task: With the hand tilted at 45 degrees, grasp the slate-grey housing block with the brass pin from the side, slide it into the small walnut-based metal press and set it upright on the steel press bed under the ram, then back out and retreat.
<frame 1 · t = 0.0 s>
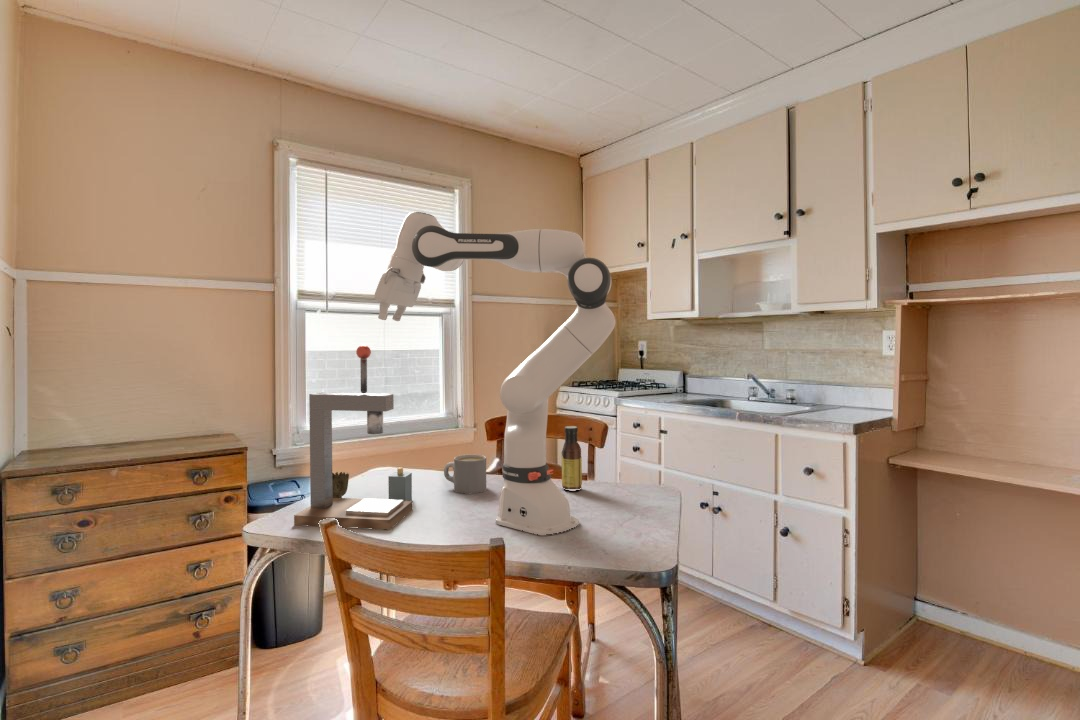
hand: (389, 320, 150), 52 cm above the table, tool tilted 20°, fingers open, 8 cm apart
housing: (400, 501, 160), on the table
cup: (335, 502, 160), on the table
coffee mug: (465, 489, 175), on the table
press base: (375, 518, 146), on the table
sauce bottle: (571, 490, 174), on the table
press frame: (354, 426, 145), on the press base, point 24 cm above the table
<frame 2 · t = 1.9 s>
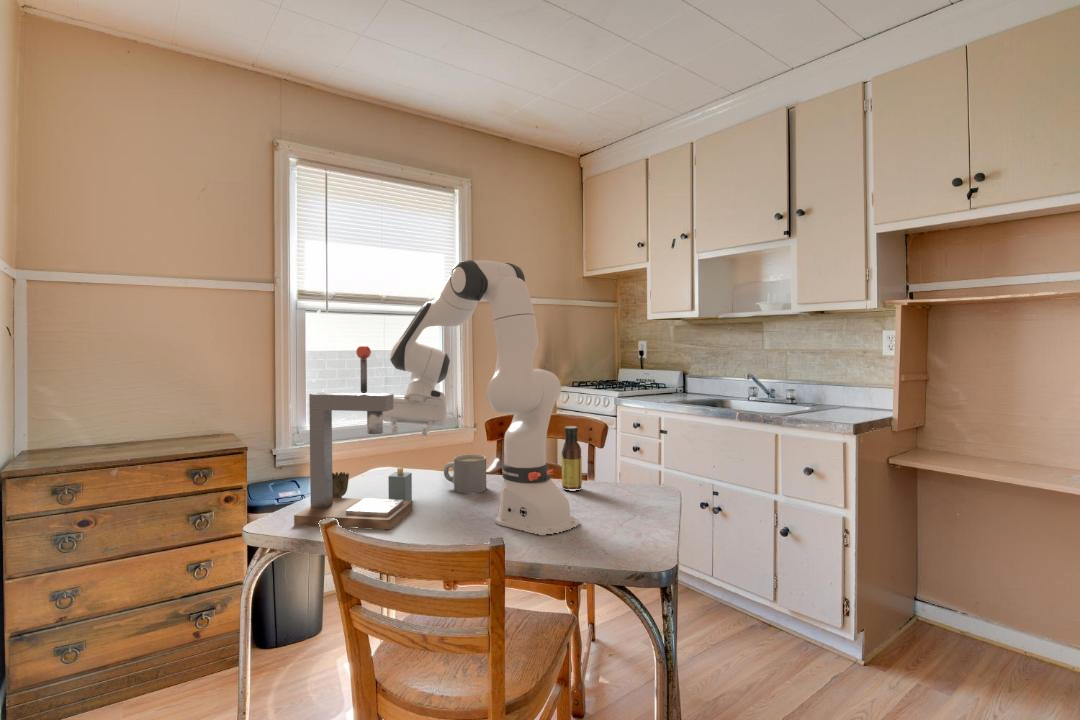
hand: (409, 433, 171), 18 cm above the table, tool tilted 40°, fingers open, 8 cm apart
nothing on the table moved.
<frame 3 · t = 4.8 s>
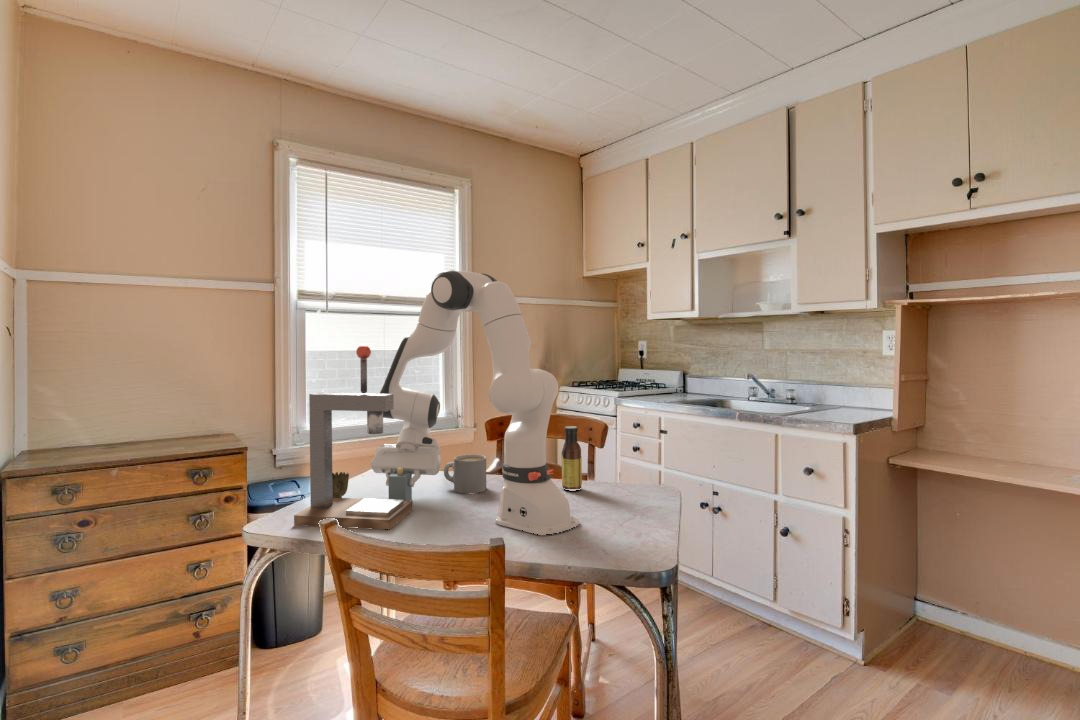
hand: (399, 485, 160), 5 cm above the table, tool tilted 45°, fingers closed on housing, 5 cm apart
housing: (400, 501, 160), on the table, touching gripper
everything else where it was.
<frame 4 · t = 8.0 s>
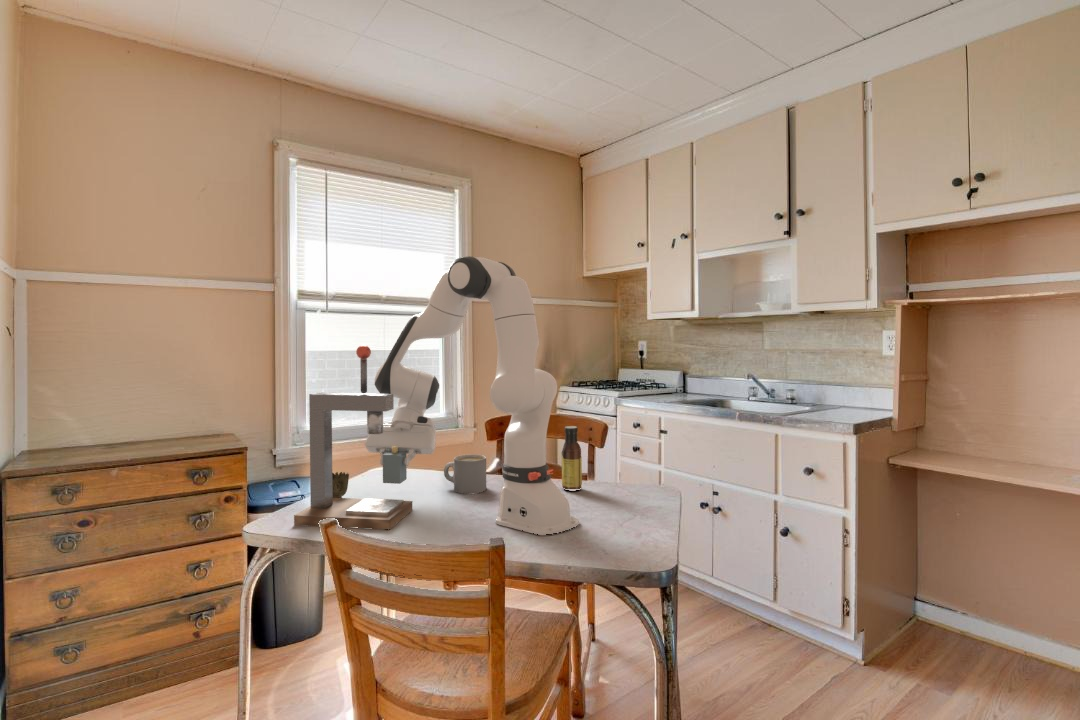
hand: (393, 464, 157), 11 cm above the table, tool tilted 45°, fingers closed on housing, 5 cm apart
housing: (394, 481, 158), point 6 cm above the table, touching gripper
everything else where it was.
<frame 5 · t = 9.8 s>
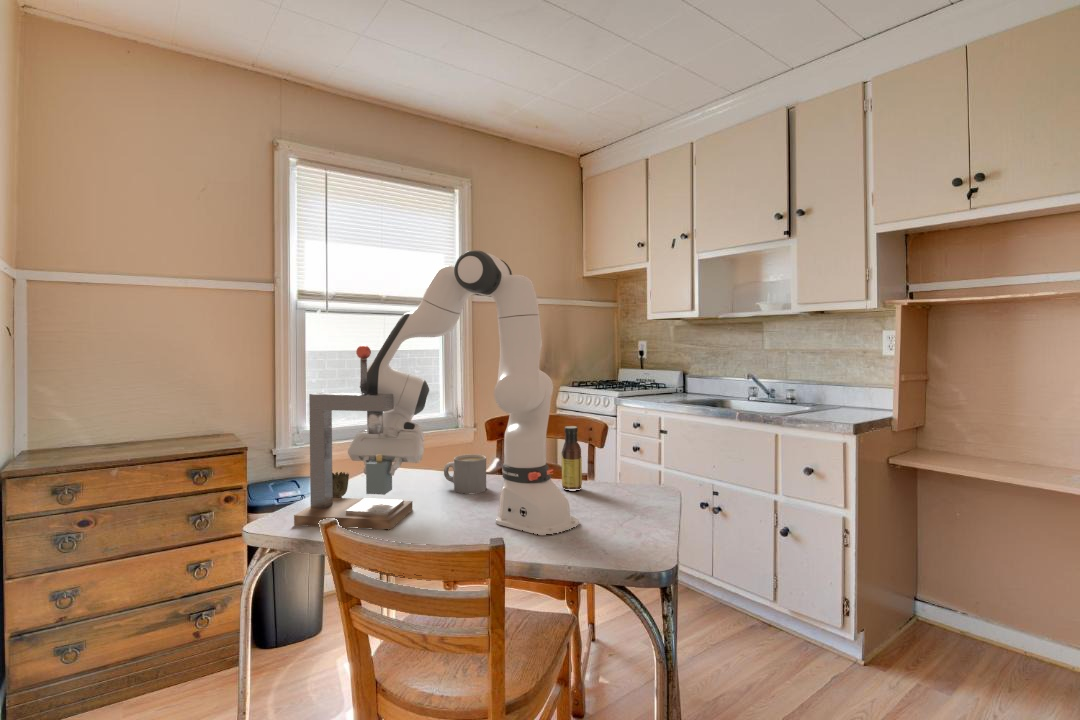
hand: (378, 473, 147), 11 cm above the table, tool tilted 45°, fingers closed on housing, 5 cm apart
housing: (379, 491, 148), point 6 cm above the table, touching gripper
everything else where it was.
when the fingers open (11 cm above the table, at t = 11.2 s): housing drops 2 cm, resting on press frame.
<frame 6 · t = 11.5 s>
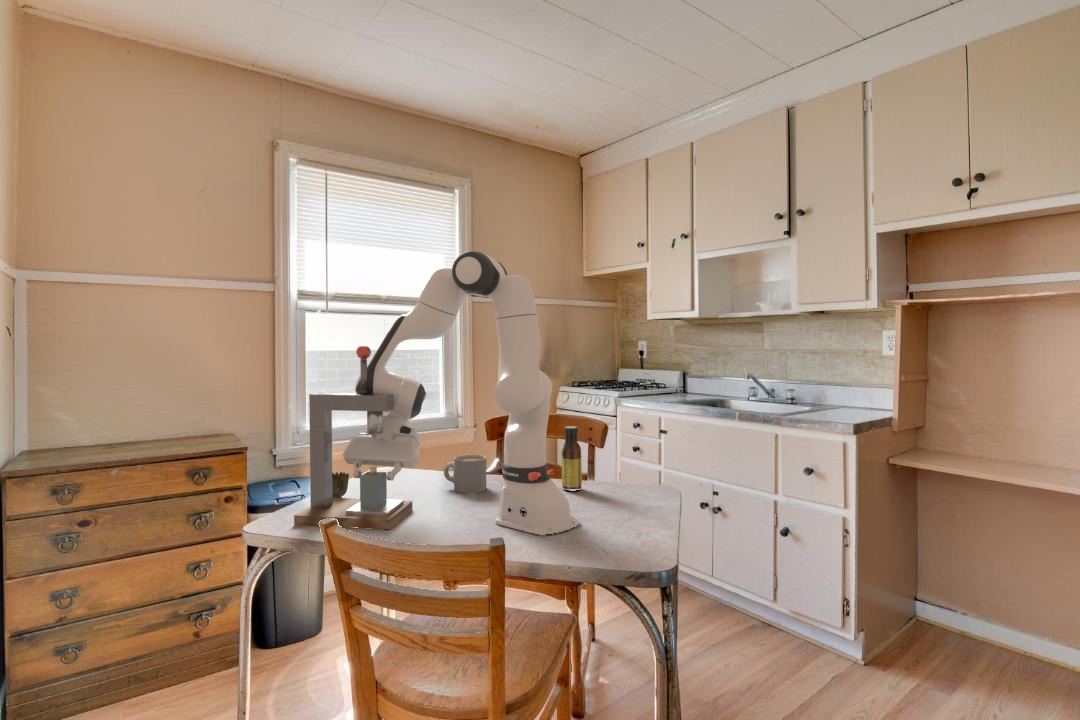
hand: (372, 478, 145), 11 cm above the table, tool tilted 45°, fingers open, 8 cm apart
housing: (373, 504, 146), point 3 cm above the table, touching press frame
everything else where it was.
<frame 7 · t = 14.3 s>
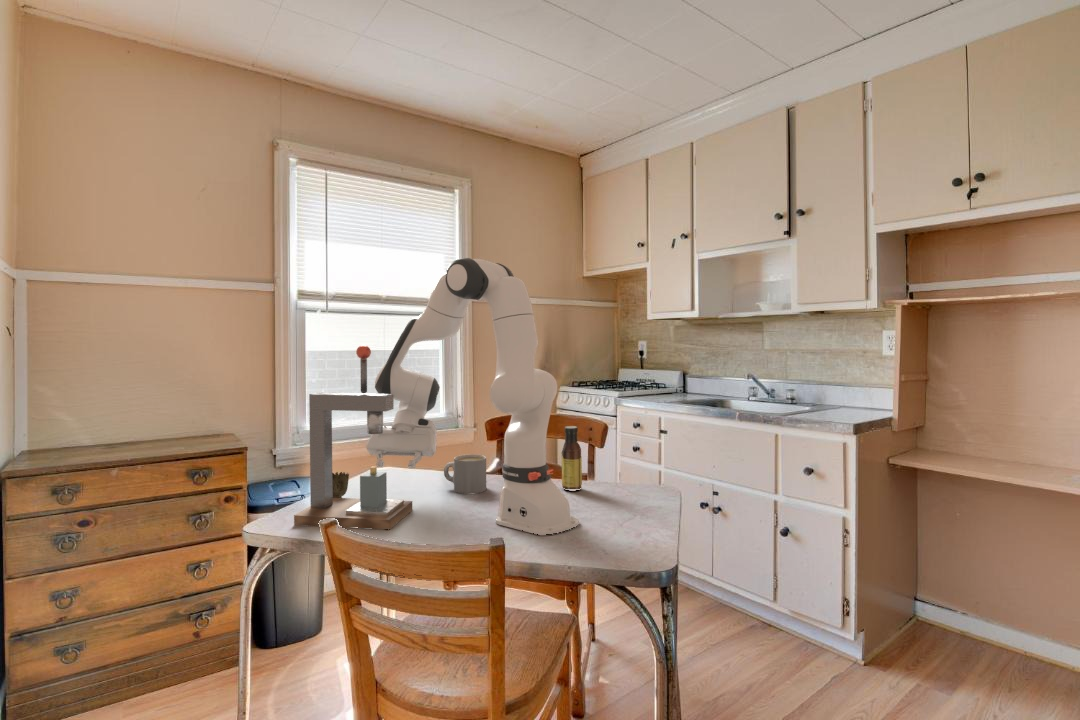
hand: (395, 466, 158), 11 cm above the table, tool tilted 45°, fingers open, 8 cm apart
nothing on the table moved.
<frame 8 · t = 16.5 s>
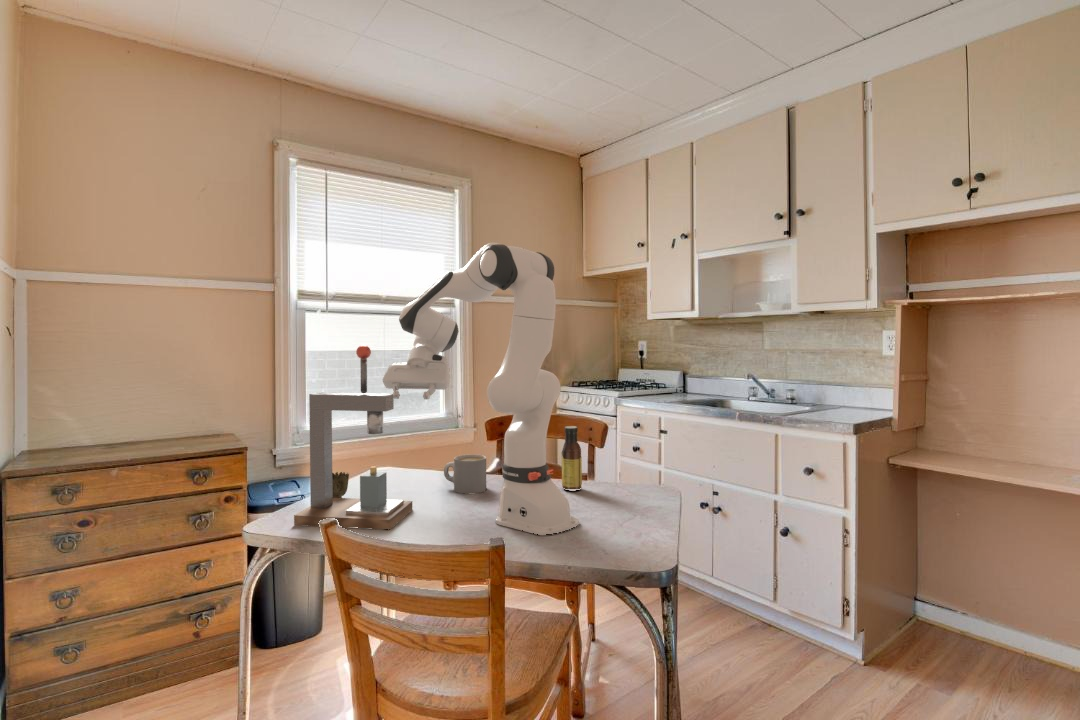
hand: (410, 397, 166), 29 cm above the table, tool tilted 45°, fingers open, 8 cm apart
nothing on the table moved.
at the end: housing inside the target area on the press base (1.1 cm from its centre), point 3.5 cm above the press base's base; housing tilted 0°; the gripper is holding nothing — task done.
